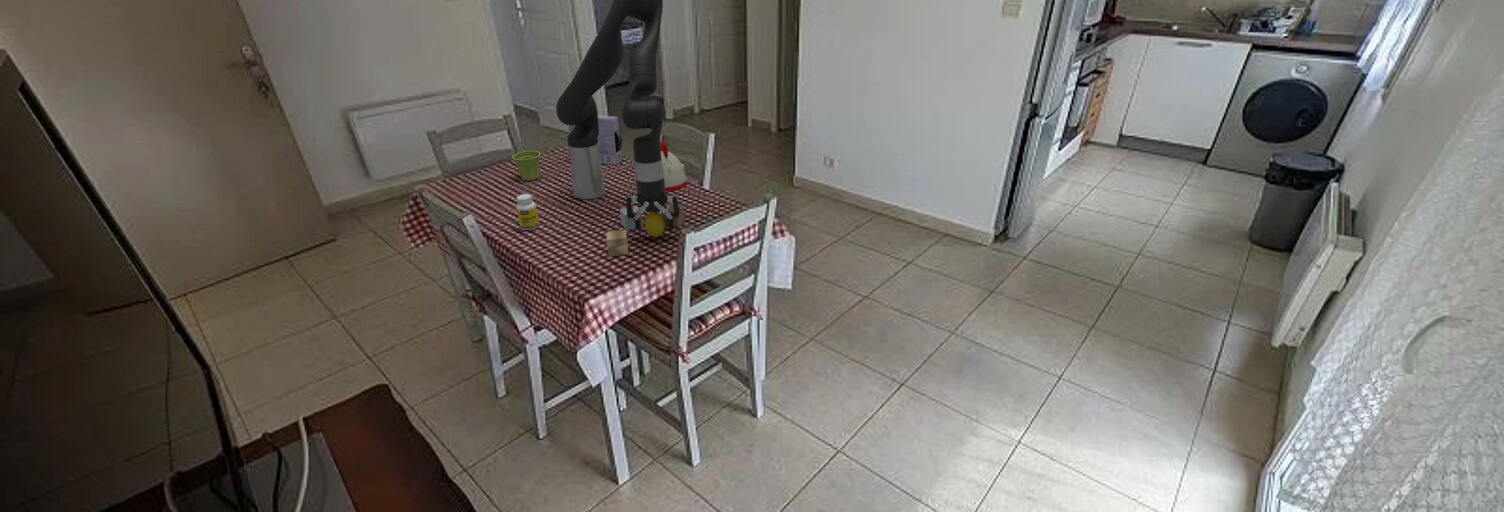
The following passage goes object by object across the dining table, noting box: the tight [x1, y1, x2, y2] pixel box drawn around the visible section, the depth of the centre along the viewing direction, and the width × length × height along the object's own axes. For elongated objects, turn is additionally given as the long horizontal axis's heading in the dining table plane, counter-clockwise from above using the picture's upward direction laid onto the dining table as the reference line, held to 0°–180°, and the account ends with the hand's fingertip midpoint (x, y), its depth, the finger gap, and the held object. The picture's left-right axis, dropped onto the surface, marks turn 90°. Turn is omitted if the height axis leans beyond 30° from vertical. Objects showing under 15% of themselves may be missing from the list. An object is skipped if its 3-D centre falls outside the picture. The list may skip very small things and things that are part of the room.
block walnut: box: [660, 203, 685, 229], centre depth 174 cm, size 5×5×5 cm
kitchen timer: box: [660, 140, 688, 193], centre depth 200 cm, size 14×14×15 cm
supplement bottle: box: [515, 193, 541, 231], centre depth 173 cm, size 5×5×10 cm
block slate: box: [619, 205, 644, 232], centre depth 174 cm, size 5×5×5 cm
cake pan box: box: [568, 115, 623, 166], centre depth 221 cm, size 19×5×18 cm, turn 79°
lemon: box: [644, 211, 666, 238], centre depth 166 cm, size 6×6×8 cm
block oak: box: [606, 229, 629, 257], centre depth 160 cm, size 5×5×5 cm
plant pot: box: [511, 150, 541, 181], centre depth 209 cm, size 9×9×9 cm
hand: (655, 230), depth 167 cm, fingers open, 8 cm apart
